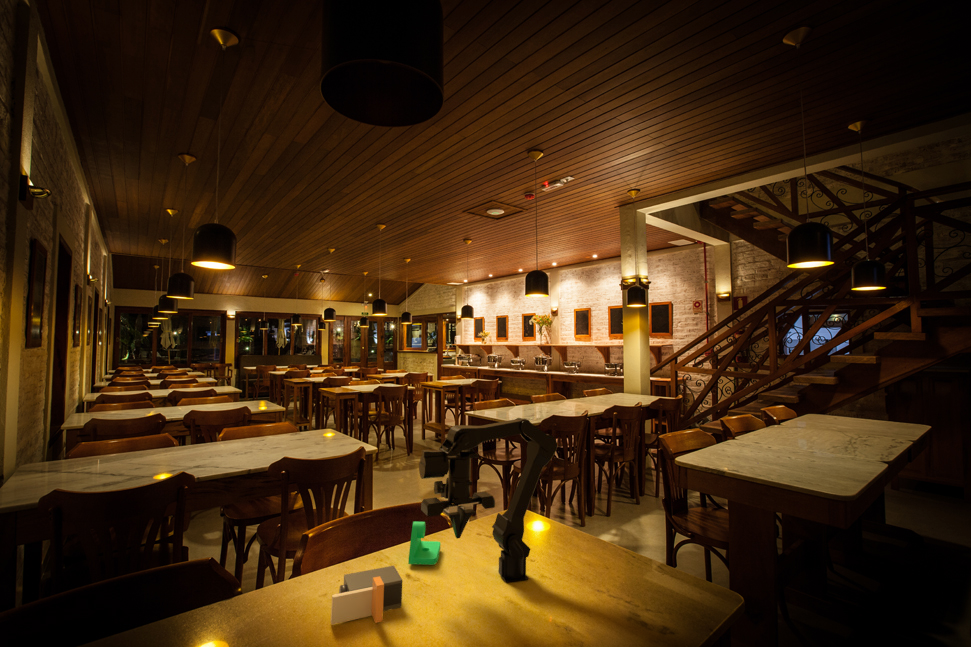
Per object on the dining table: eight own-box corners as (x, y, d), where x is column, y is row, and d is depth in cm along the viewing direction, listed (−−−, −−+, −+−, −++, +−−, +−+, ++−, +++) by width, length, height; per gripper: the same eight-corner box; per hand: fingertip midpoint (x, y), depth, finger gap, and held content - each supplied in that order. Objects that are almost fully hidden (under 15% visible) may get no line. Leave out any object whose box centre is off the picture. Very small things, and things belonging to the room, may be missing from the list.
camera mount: (435, 568, 120) (436, 530, 121) (408, 568, 120) (409, 529, 121) (440, 550, 132) (441, 515, 133) (415, 549, 132) (416, 514, 133)
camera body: (392, 590, 107) (393, 565, 108) (401, 607, 100) (402, 580, 101) (337, 602, 102) (338, 575, 102) (342, 621, 94) (343, 592, 95)
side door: (377, 611, 98) (378, 573, 98) (382, 623, 93) (384, 584, 94) (330, 621, 93) (332, 582, 94) (333, 635, 88) (335, 594, 89)
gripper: (478, 465, 124) (477, 522, 122) (415, 471, 116) (413, 532, 114) (496, 475, 114) (495, 536, 112) (429, 481, 106) (426, 548, 104)
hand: (457, 537), depth 111 cm, fingers closed
